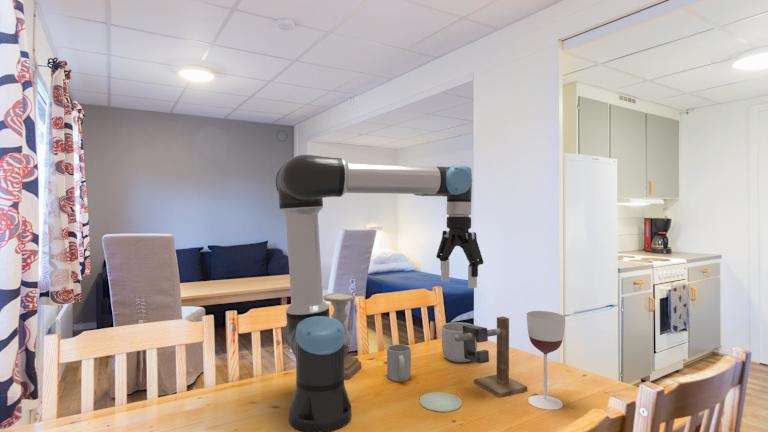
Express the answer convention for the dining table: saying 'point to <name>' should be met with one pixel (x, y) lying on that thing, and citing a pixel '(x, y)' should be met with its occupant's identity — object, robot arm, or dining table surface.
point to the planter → (453, 342)
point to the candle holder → (339, 313)
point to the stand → (498, 362)
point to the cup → (399, 362)
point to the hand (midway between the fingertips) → (458, 284)
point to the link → (469, 345)
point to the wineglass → (545, 347)
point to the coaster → (440, 402)
